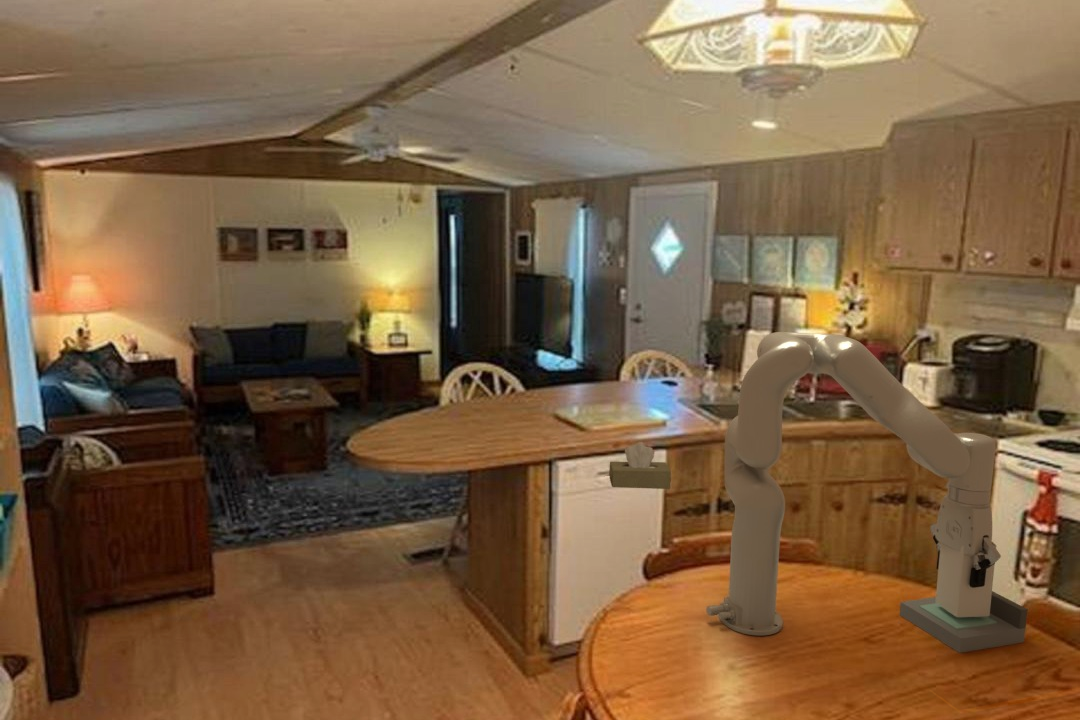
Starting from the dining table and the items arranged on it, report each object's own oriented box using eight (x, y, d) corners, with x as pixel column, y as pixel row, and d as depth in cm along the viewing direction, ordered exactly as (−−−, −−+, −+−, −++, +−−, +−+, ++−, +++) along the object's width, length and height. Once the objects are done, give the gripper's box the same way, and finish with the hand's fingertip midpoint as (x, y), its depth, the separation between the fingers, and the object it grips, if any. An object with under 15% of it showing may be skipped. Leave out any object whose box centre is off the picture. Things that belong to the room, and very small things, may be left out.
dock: (959, 652, 149) (962, 619, 148) (899, 615, 164) (902, 584, 163) (1023, 642, 153) (1027, 609, 152) (959, 606, 168) (962, 576, 167)
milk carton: (966, 602, 162) (974, 514, 159) (989, 617, 154) (998, 526, 152) (934, 603, 161) (942, 515, 158) (956, 618, 154) (965, 527, 151)
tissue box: (665, 486, 251) (667, 439, 249) (670, 495, 242) (672, 446, 239) (608, 485, 251) (609, 438, 249) (611, 494, 242) (612, 446, 239)
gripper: (920, 483, 161) (913, 562, 164) (989, 510, 145) (980, 598, 147) (949, 480, 163) (941, 559, 166) (1021, 507, 147) (1011, 594, 149)
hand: (959, 577), depth 157 cm, fingers closed on milk carton, 7 cm apart
